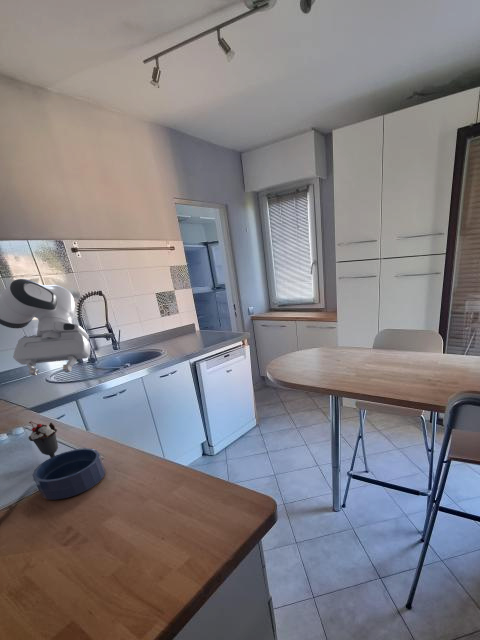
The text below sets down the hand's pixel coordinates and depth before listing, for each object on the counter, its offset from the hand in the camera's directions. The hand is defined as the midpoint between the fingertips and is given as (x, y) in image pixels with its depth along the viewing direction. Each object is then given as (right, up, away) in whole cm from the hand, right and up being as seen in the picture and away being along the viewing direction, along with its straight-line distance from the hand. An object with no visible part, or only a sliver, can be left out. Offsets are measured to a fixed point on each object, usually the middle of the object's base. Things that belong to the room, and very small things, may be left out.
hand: (50, 372), depth 99 cm
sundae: (+3, -27, -2) cm, 27 cm away
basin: (+15, -30, -11) cm, 35 cm away
